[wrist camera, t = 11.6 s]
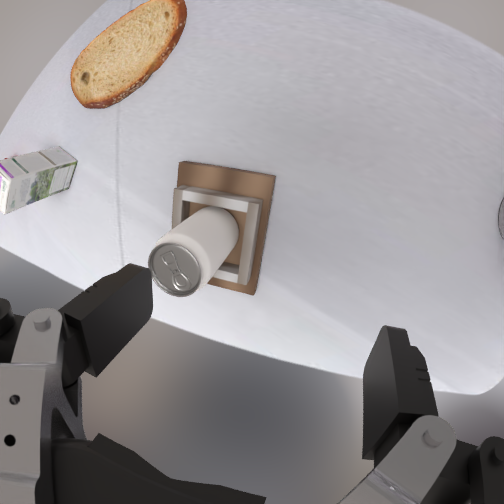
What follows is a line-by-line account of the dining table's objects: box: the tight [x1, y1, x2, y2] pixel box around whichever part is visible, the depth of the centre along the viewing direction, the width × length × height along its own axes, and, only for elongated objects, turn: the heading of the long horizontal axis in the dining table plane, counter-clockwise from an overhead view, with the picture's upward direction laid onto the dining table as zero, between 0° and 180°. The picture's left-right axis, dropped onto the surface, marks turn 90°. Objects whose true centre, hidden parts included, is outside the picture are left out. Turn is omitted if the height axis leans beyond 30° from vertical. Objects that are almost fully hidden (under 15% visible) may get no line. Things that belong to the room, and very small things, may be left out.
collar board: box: [172, 161, 276, 295], centre depth 38 cm, size 12×16×4 cm
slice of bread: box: [71, 0, 187, 108], centre depth 32 cm, size 18×18×4 cm
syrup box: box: [0, 147, 77, 215], centre depth 36 cm, size 6×6×14 cm
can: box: [148, 206, 239, 297], centre depth 33 cm, size 6×6×12 cm
